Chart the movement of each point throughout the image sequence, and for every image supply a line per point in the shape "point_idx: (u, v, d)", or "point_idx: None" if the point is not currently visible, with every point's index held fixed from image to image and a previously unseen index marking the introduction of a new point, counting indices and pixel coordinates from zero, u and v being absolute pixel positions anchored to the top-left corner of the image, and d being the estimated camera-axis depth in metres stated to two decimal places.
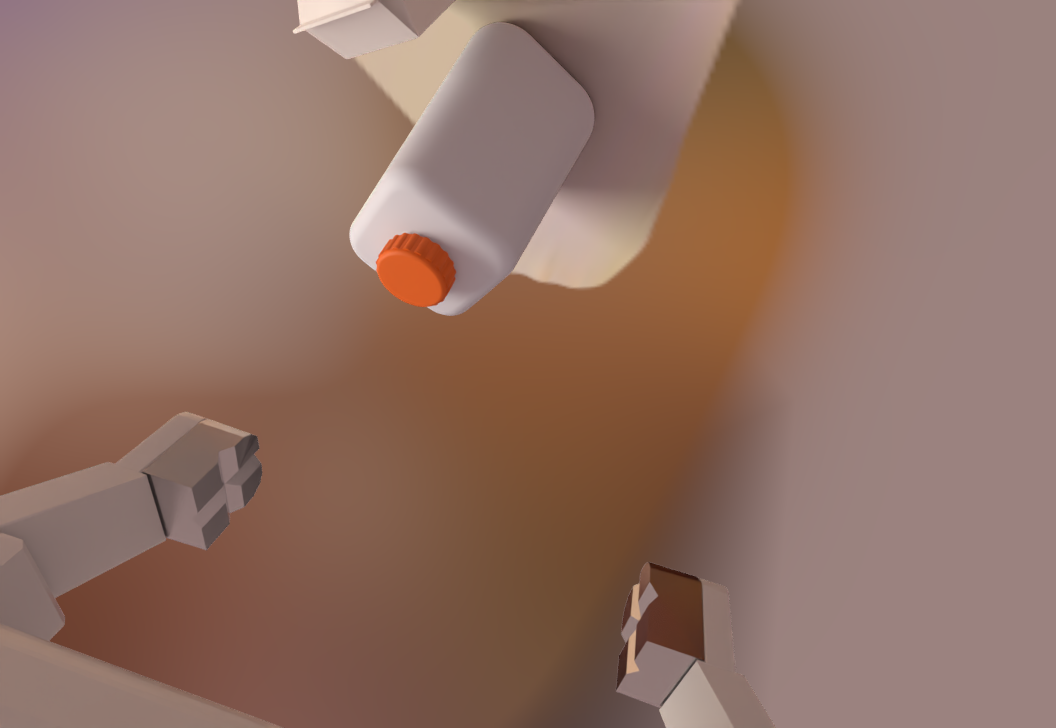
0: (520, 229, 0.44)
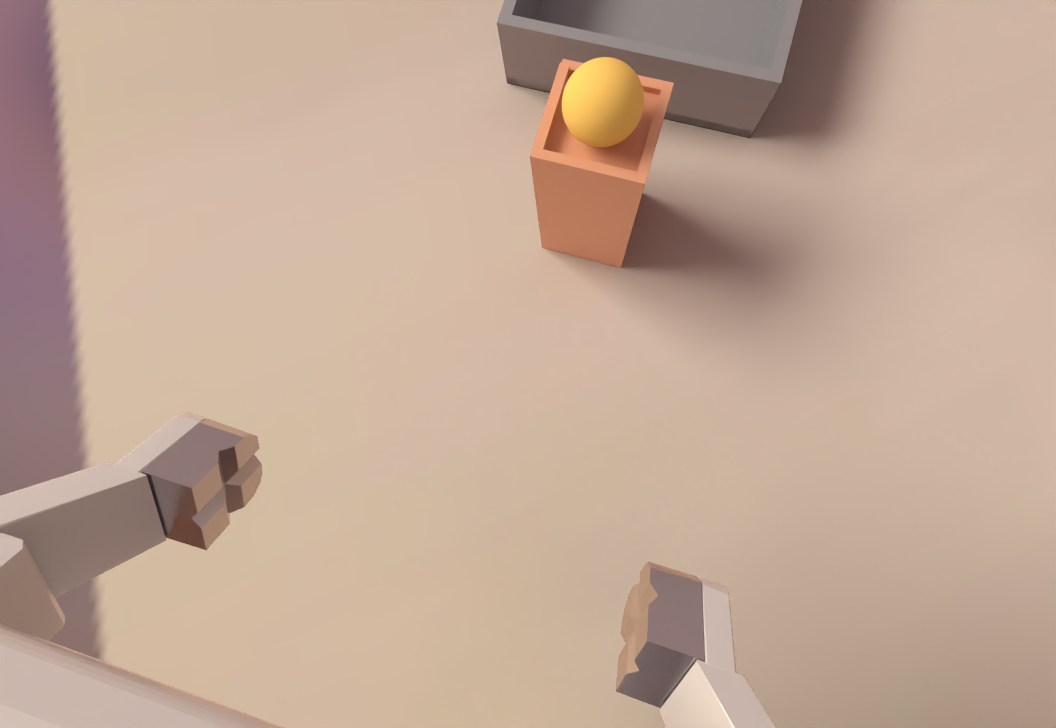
0: None
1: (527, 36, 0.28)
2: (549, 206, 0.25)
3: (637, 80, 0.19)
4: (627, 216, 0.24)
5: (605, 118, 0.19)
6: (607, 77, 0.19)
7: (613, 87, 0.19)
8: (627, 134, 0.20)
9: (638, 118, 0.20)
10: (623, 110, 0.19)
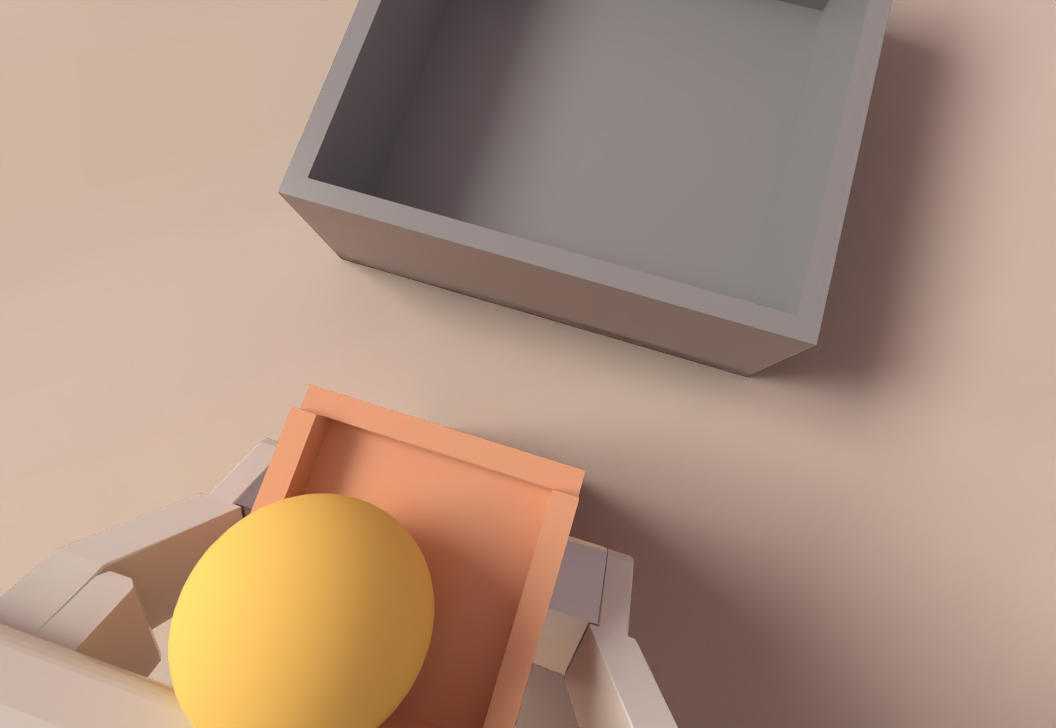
0: None
1: (340, 216, 0.15)
2: None
3: (325, 645, 0.06)
4: None
5: None
6: (203, 680, 0.05)
7: (224, 715, 0.05)
8: (379, 724, 0.07)
9: (385, 708, 0.06)
10: None
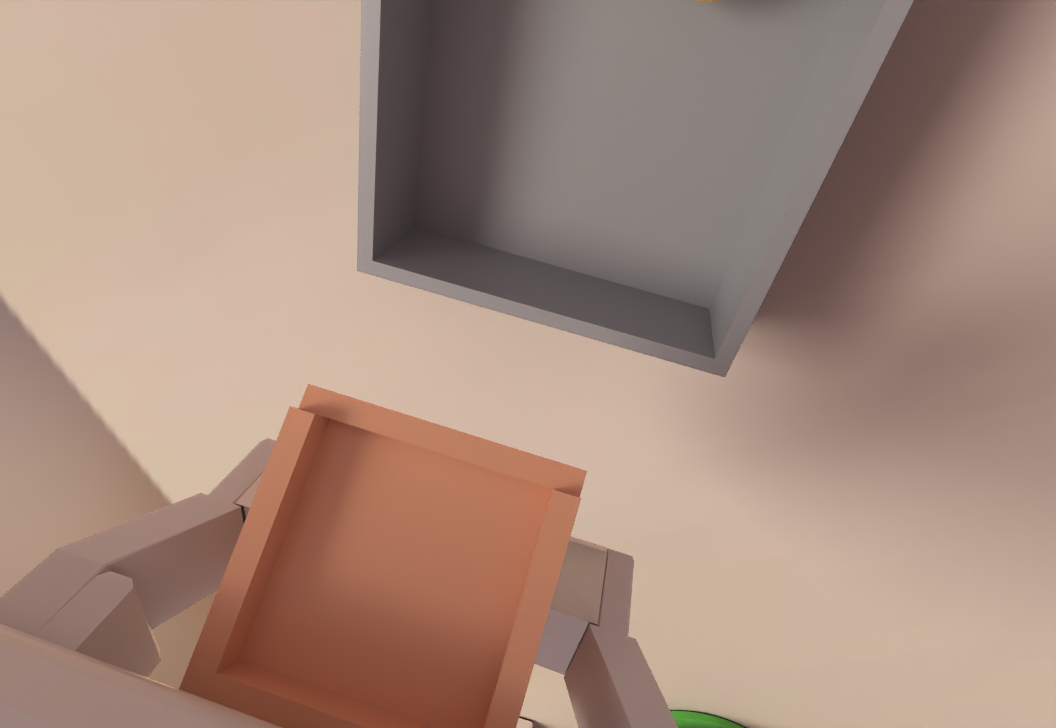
0: None
1: None
2: None
3: None
4: None
5: None
6: None
7: None
8: None
9: None
10: None
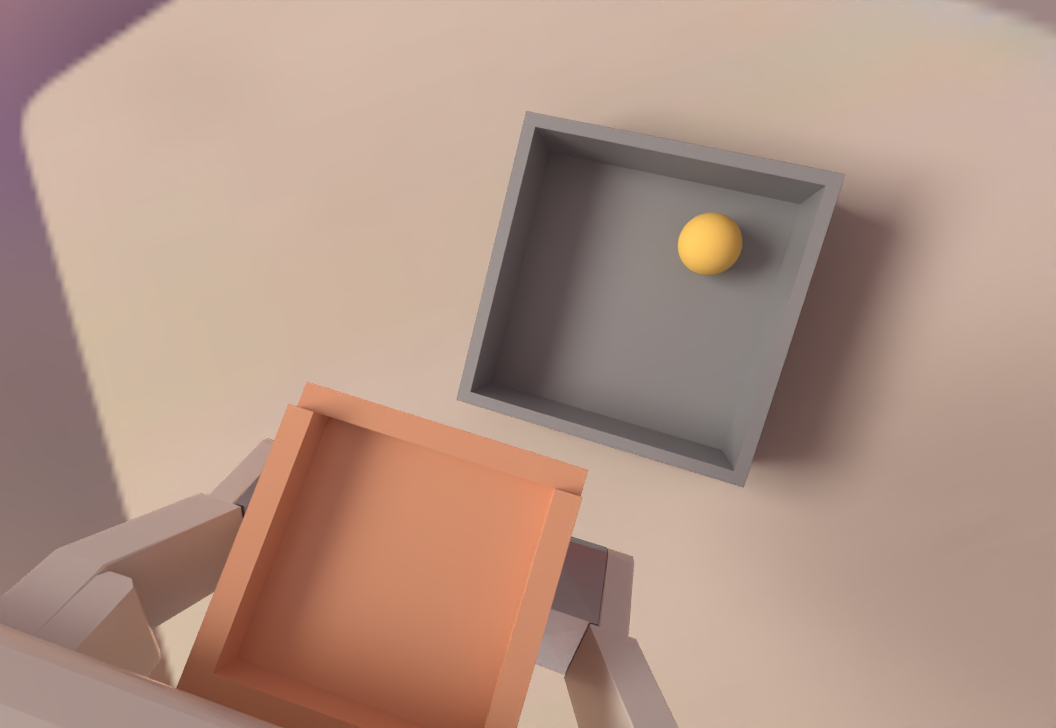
0: None
1: None
2: None
3: (727, 216, 0.26)
4: None
5: (740, 250, 0.26)
6: (730, 230, 0.25)
7: (736, 232, 0.26)
8: None
9: None
10: None
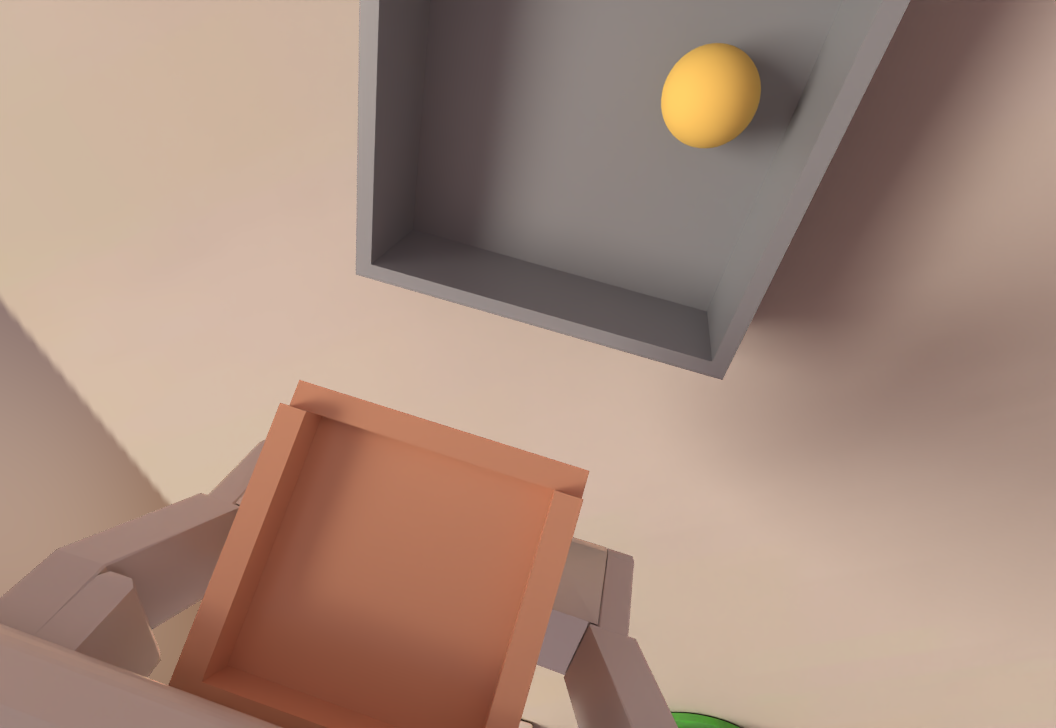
0: None
1: None
2: None
3: (742, 104, 0.16)
4: None
5: None
6: None
7: (747, 124, 0.17)
8: (750, 60, 0.17)
9: (753, 67, 0.16)
10: (759, 97, 0.17)
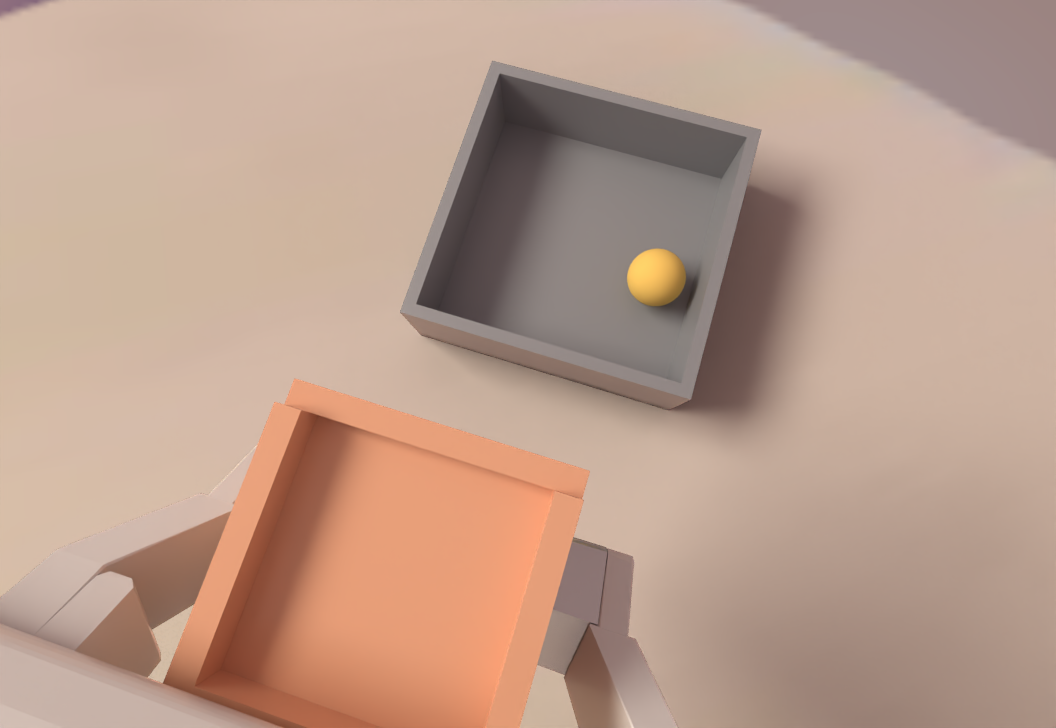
0: None
1: (433, 324, 0.26)
2: None
3: (674, 299, 0.29)
4: None
5: None
6: None
7: None
8: (682, 266, 0.28)
9: (683, 279, 0.28)
10: None
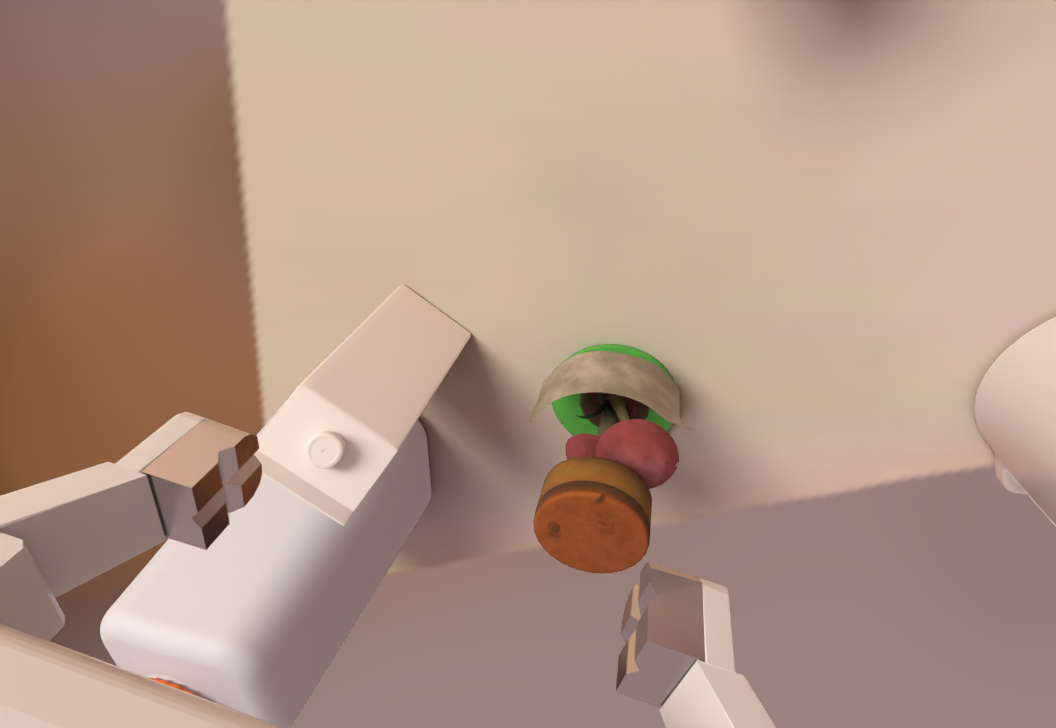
0: None
1: None
2: None
3: None
4: None
5: None
6: None
7: None
8: None
9: None
10: None
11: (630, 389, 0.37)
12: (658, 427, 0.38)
